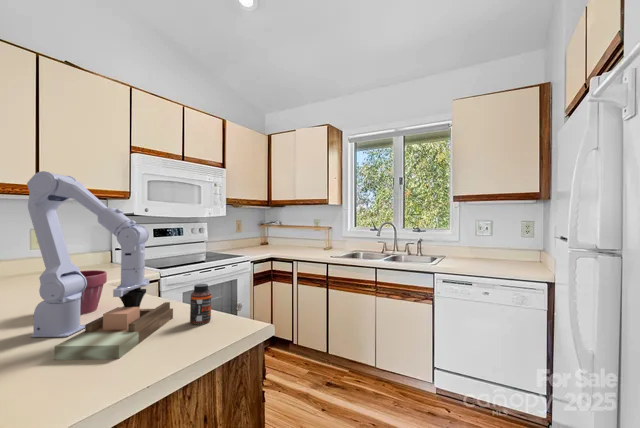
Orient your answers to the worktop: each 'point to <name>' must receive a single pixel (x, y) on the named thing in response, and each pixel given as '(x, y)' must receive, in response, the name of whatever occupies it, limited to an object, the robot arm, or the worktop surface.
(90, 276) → the plant pot
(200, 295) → the supplement bottle
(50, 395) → the worktop surface
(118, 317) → the block
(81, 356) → the chute
